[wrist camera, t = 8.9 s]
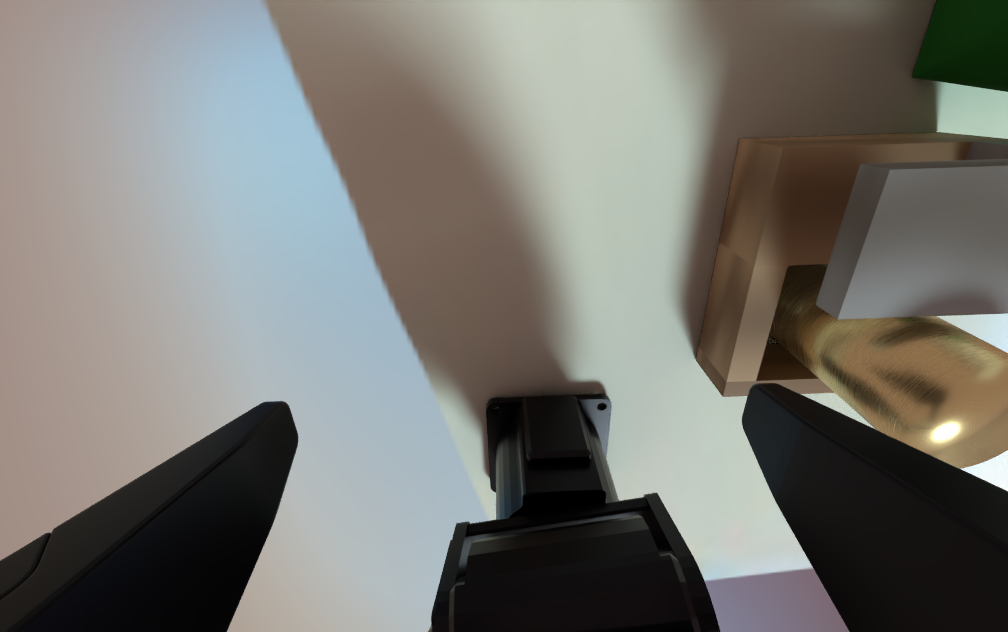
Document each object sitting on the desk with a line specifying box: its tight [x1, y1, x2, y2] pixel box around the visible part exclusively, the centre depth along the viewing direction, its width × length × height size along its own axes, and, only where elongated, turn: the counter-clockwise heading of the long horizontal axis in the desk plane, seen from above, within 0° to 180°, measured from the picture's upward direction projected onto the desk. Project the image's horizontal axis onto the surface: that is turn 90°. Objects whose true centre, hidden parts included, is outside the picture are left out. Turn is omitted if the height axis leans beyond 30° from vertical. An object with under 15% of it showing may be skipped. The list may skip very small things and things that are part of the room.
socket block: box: [696, 132, 1008, 397], centre depth 17 cm, size 10×8×8 cm
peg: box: [769, 264, 1008, 469], centre depth 17 cm, size 4×4×9 cm
